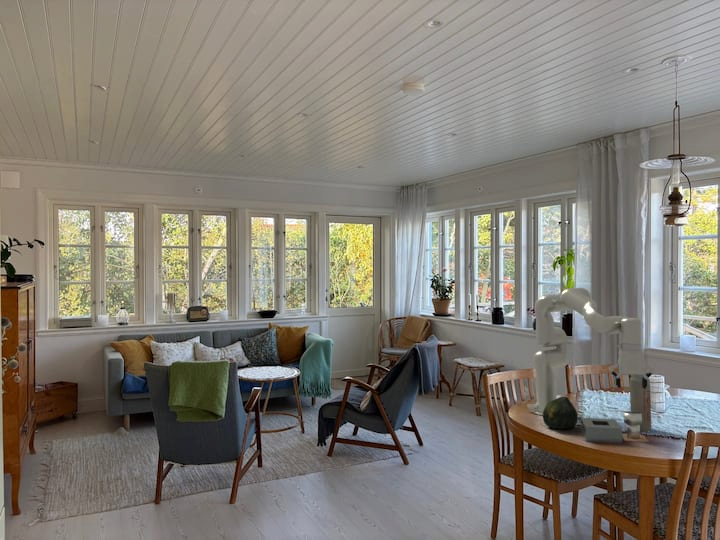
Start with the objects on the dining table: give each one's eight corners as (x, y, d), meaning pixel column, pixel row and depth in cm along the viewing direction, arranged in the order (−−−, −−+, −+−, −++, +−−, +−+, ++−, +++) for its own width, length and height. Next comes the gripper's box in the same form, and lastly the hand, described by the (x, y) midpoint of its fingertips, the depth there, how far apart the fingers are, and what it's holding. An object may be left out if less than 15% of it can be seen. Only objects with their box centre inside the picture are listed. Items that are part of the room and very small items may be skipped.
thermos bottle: (655, 430, 233) (653, 366, 233) (640, 432, 231) (638, 368, 231) (641, 425, 241) (639, 364, 241) (627, 427, 239) (625, 365, 239)
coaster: (624, 440, 221) (624, 440, 221) (619, 434, 230) (619, 433, 230) (648, 442, 219) (648, 441, 219) (642, 435, 227) (642, 434, 227)
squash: (532, 412, 248) (547, 392, 239) (558, 409, 254) (573, 390, 245) (547, 438, 238) (564, 419, 229) (574, 435, 244) (590, 416, 235)
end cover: (626, 439, 222) (625, 414, 222) (622, 434, 228) (621, 410, 228) (644, 440, 220) (643, 414, 220) (640, 435, 227) (639, 410, 227)
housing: (585, 441, 221) (585, 426, 222) (580, 431, 235) (580, 417, 235) (622, 443, 218) (622, 428, 218) (615, 433, 231) (615, 419, 231)
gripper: (610, 348, 223) (610, 388, 223) (656, 349, 218) (656, 390, 219) (607, 345, 230) (607, 384, 230) (651, 346, 226) (651, 386, 226)
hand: (631, 387), depth 225 cm, fingers open, 9 cm apart
